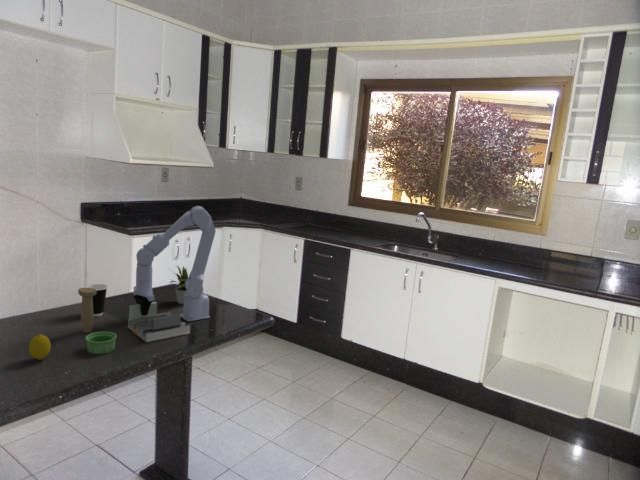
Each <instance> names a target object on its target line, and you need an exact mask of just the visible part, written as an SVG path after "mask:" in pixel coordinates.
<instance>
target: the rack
mask: <svg viewBox="0 0 640 480" xmlns="http://www.w3.org/2000/svg"><path fill="white" fill-rule="evenodd" d="M181 318H182V317H181V315H180V313H176V314H175V313H174V314H172V313H171V312H166V313H160V314H157V315H153V316H147V317H141V318H135V319H129V318H128V319H127V328H128V329H129V330H131V332H132V333H133V334H134V335H136V336H137V337H139V338H141V340H143V341H144V342H145V343H150V342H151V343H152V342H156V341H159V340H165V339H169V338H170V339H171V338H175V337H179V336H180V337H181V336H184V335H190V334H191V325H189V324H188V325H187V324H186V322H185V321H181Z"/></svg>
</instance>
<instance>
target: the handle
mask: <svg viewBox="0 0 640 480" xmlns="http://www.w3.org/2000/svg"><path fill="white" fill-rule="evenodd" d="M77 293H78V295H79V296H80V297H81V308H80V309H81V310H80V311H81V312H80V326H81V330H82V333H86V334H90V333H93V332H92V331H93V326H94V317H95V316H94V314H93V296H94V295H96V294H97V291H96V289H93V288H85V287H81V288H78V290H77Z"/></svg>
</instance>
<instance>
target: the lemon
mask: <svg viewBox="0 0 640 480" xmlns="http://www.w3.org/2000/svg"><path fill="white" fill-rule="evenodd" d="M51 347H52V346H51V341H50V339H49V337H47V336H46V335H44V334H41V333H38V334H37V335H35V336H33V337H32V339H31V340H30V342H29V344H28V352H29V354H30V356H31V357H32V358H34V359H37V360H38V361H42V360H43V358H46V357H47V356H48V355H49V354H50V352H51Z"/></svg>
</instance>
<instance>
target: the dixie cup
mask: <svg viewBox="0 0 640 480" xmlns="http://www.w3.org/2000/svg"><path fill="white" fill-rule="evenodd" d="M84 288H93V289H96V291H97V294H96V295H94V296H93V314H94V317H101V316H103V315H102V314H104V311H105V305H106V296H107V289H108V285H106V284H104V283H103V284H102V283H93V284H92V283H91V284H88V285H85V286H84Z"/></svg>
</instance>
